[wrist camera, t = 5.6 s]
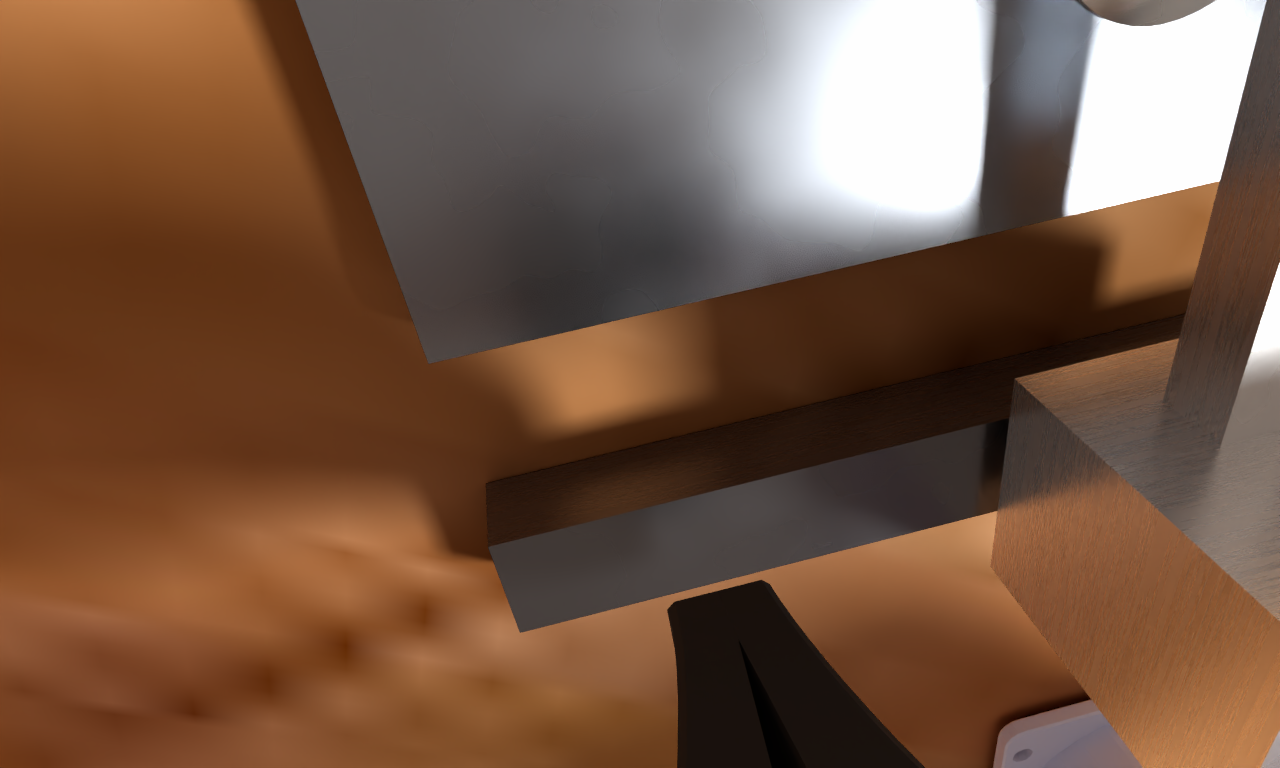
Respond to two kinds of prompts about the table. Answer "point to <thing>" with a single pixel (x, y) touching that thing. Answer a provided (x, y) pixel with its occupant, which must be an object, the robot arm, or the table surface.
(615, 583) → the bar
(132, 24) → the table surface
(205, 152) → the table surface
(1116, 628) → the sliding divider leg
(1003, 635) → the table surface
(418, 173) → the bolt hole plate
